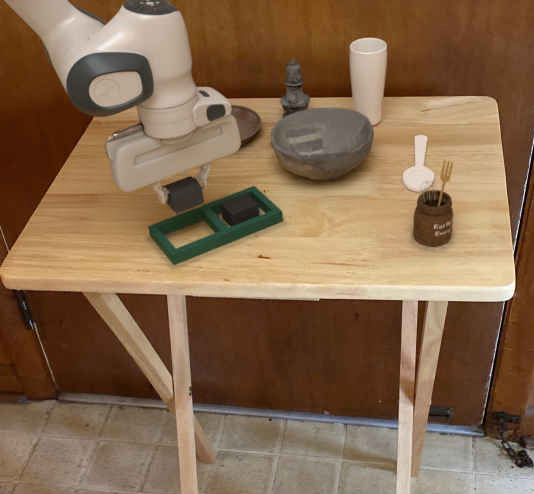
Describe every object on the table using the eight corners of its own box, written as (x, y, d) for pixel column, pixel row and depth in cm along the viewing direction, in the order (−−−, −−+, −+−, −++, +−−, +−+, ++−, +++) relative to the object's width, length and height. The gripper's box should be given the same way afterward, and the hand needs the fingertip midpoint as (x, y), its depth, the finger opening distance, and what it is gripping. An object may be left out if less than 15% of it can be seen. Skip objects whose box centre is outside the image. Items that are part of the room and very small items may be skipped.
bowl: (348, 133, 153) (348, 94, 147) (391, 179, 140) (392, 138, 135) (258, 157, 149) (255, 117, 144) (294, 206, 137) (291, 165, 131)
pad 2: (233, 229, 133) (231, 214, 131) (222, 218, 136) (220, 203, 134) (260, 219, 135) (258, 204, 133) (248, 208, 137) (246, 193, 135)
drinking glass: (388, 113, 157) (390, 38, 147) (382, 130, 153) (383, 54, 143) (353, 111, 159) (353, 36, 149) (346, 128, 154) (345, 52, 144)
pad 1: (175, 214, 125) (172, 197, 123) (165, 202, 128) (161, 186, 126) (204, 203, 127) (202, 186, 125) (193, 191, 130) (190, 175, 127)
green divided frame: (174, 265, 127) (172, 255, 126) (149, 235, 134) (147, 226, 132) (283, 221, 134) (282, 211, 132) (255, 195, 140) (254, 185, 139)
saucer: (251, 158, 149) (250, 145, 147) (175, 154, 152) (173, 141, 150) (270, 118, 159) (269, 106, 158) (198, 115, 163) (196, 103, 161)
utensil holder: (405, 239, 128) (408, 173, 120) (427, 219, 131) (432, 154, 123) (437, 252, 125) (442, 186, 116) (459, 232, 128) (466, 166, 120)
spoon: (436, 137, 149) (436, 134, 149) (433, 192, 136) (433, 189, 136) (406, 136, 150) (406, 134, 150) (401, 191, 137) (401, 188, 137)
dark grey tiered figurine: (309, 124, 157) (306, 64, 149) (279, 123, 158) (274, 65, 150) (312, 109, 161) (310, 50, 153) (283, 109, 162) (279, 51, 154)
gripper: (110, 145, 112) (130, 227, 121) (240, 100, 118) (249, 181, 127) (94, 126, 116) (114, 207, 125) (220, 84, 122) (231, 164, 132)
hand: (183, 194), depth 126 cm, fingers closed on pad 1, 5 cm apart
